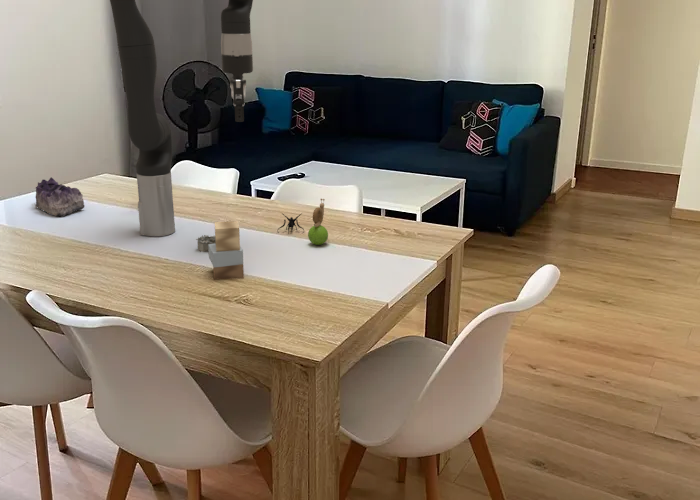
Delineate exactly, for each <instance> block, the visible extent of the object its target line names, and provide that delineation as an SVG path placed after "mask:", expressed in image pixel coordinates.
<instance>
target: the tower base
mask: <svg viewBox="0 0 700 500" xmlns="http://www.w3.org/2000/svg"><path fill="white" fill-rule="evenodd" d="M212 268H213V269H212V270H213V280H228V279H232V280H233V279H244V277H245V273H244V263H243V264H241V265H232V266H223V267H213V266H212Z"/></svg>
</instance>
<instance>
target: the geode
mask: <svg viewBox="0 0 700 500" xmlns="http://www.w3.org/2000/svg"><path fill="white" fill-rule="evenodd" d="M83 197H84V196H83V194H82V192H81V191H80V189H78V188H77V187H71V186H66V185H65V184H62V183H61V184H59V182H58V181H56V180H55V179H54V178H53V177H50V178H49V179H48V180H46V179H42V180H41V182H37V185H36V186H35V207H36V208H37V207H38V208H37V209H39V208H40V209H39V210H41V209H42V210H41V211H43V210H44V211H46V212H47V213H46V212H45V213H46V214H48V213H50V214H49V215H51V214H52V215H51V216H54V217H55V216H60V217H65V216H67V215H70V214H72V213H75V212H77V211H81V210H83V209H84V208H85V206H86V205H85V202H84V198H83ZM44 211H43V212H44Z"/></svg>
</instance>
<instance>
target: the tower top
mask: <svg viewBox="0 0 700 500" xmlns="http://www.w3.org/2000/svg"><path fill="white" fill-rule="evenodd" d="M208 249H209V250H208V259H209V260H210V262H211V265H212V268H213V267H223V266H232V265H241V264H243V265H244V250H243V248H242V247H241V246H240V250H233V251H216V244H208Z"/></svg>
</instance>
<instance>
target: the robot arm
mask: <svg viewBox="0 0 700 500" xmlns="http://www.w3.org/2000/svg"><path fill="white" fill-rule="evenodd" d="M109 2H110V7H111V12H112V17H113V24H114V29H115V33H116V42H117V48H118V57H119V61H120V62H119V64H120V67H121V73H122V80H123V85H124V91H125V96H126V107H127V108H126V109H127V125H128V127H127V128H128V129H127V130H128V136H129V138H130V141H131V142H132V144H133V146H134V147H136V148H137V149H138V152H139V153H138V159H137V161H136V163H135V171H136V182H137V194H138V201H137V212H138V219H139V220H138V221H139V232H140V236H147V237H163V236H169V235H172V234H174V233H175V232H176V227H175V226H176V223H175V210H174V209H175V208H174V196H173V183H172V181H173V180H172V169H171V168H172V167H171V166H172V161H173V145H172V142H173V141H172V129H171V126H170V123H169V121H168V120H167V118H166V117H165V116H164V115H162V114H160V113H158V112H157V109H156V103H155V102H156V101H155V85H156V78H157V68H158V66H157V53H156V46H155V40H154V36H153V33H152V31H151V29H150V27H149V26H148V24H147V22H146V21H145V19H144V18H143V16H142V14H141V12H140V10H139V8H138V5H137V2H136V0H109ZM253 2H254V0H228V2H227V6H226V7H225V8H224V9H222V11H221V12H220V27H221V38H220V48H221V49H220V50H221V70H222V72H223V73H224V74H231V75H232V79H229V85H230V86H229V87H230V89H231V98H232V99H233V100H232V101H233V107H234V119H235V120H234V121H235V122H236V123H243V122H245V111H244V110H245V109H244V108H245V106H246V105H245V102H246V101H245V99H246V98H247V97H246V94H247V93H246V88H247V80H246V79H244V74H251V73H253V71H254V67H253V63H254V62H253V61H254V60H253V41H252V35H251V31H252V30H251V11H252V7H253Z"/></svg>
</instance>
